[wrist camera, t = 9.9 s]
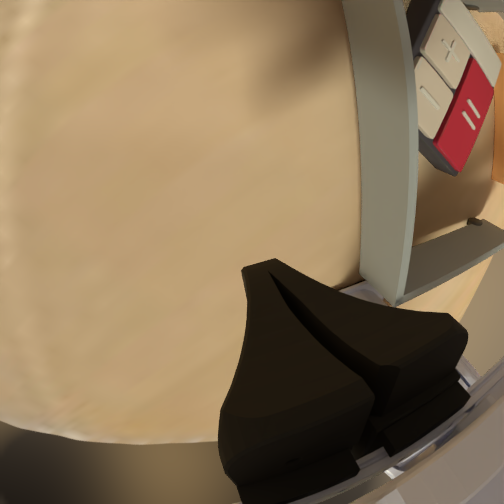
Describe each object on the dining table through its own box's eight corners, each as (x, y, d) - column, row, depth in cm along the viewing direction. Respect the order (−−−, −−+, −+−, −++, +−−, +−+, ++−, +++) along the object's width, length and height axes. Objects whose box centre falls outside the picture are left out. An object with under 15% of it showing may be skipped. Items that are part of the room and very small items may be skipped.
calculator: (391, 105, 16) (450, -22, 10) (355, 100, 19) (416, -16, 14) (462, 181, 20) (507, 64, 15) (430, 167, 24) (477, 59, 19)
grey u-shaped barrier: (476, 222, 28) (511, 243, 23) (353, 269, 25) (393, 308, 20) (472, 5, 15) (514, 5, 10) (321, -49, 12) (368, -79, 7)
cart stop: (496, 177, 26) (508, 182, 25) (491, 178, 26) (503, 184, 24) (495, 54, 18) (508, 56, 17) (490, 52, 18) (503, 53, 16)
